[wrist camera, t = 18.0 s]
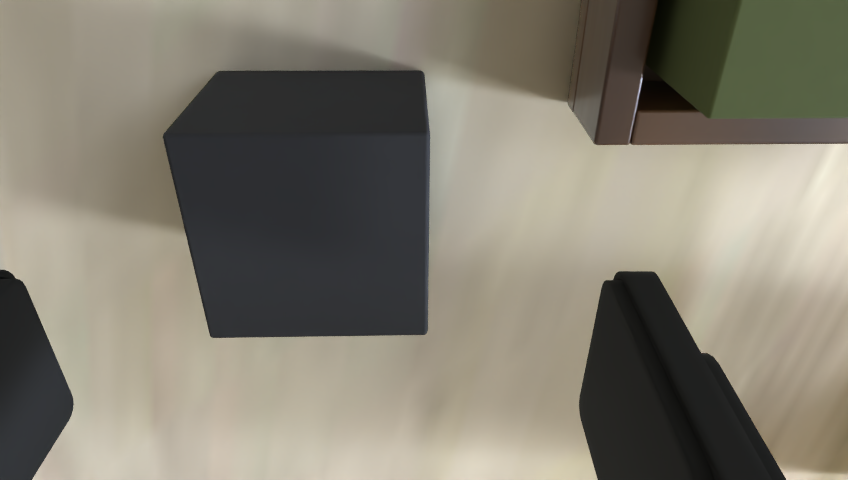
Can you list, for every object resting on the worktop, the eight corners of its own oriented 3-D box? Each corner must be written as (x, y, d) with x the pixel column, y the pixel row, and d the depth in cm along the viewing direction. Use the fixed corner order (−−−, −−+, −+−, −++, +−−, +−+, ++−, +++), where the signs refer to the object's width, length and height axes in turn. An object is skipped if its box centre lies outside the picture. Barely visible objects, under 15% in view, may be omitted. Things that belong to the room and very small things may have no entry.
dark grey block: (247, 245, 17) (209, 339, 14) (216, 70, 15) (160, 134, 11) (423, 243, 17) (427, 336, 14) (424, 69, 15) (429, 132, 11)
